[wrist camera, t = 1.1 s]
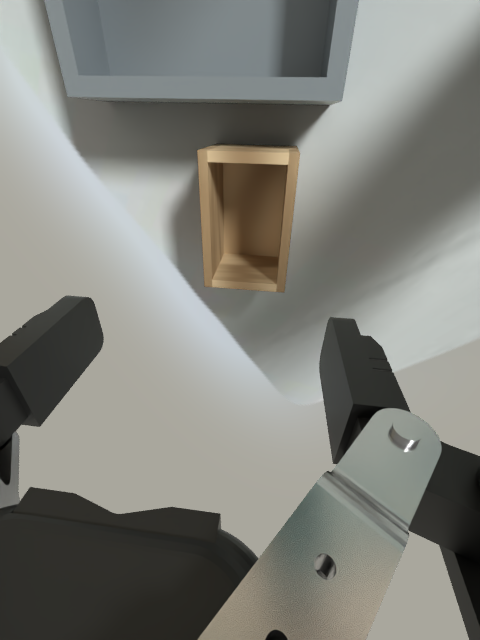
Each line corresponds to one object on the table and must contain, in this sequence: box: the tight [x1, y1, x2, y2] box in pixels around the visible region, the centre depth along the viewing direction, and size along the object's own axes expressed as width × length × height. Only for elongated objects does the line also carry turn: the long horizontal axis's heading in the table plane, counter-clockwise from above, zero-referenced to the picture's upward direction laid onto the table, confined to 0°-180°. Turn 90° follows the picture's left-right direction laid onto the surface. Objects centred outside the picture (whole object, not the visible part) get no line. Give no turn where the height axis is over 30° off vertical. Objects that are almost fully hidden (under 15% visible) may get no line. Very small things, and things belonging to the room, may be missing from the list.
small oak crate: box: [197, 144, 300, 292], centre depth 22 cm, size 6×9×6 cm, turn 178°
